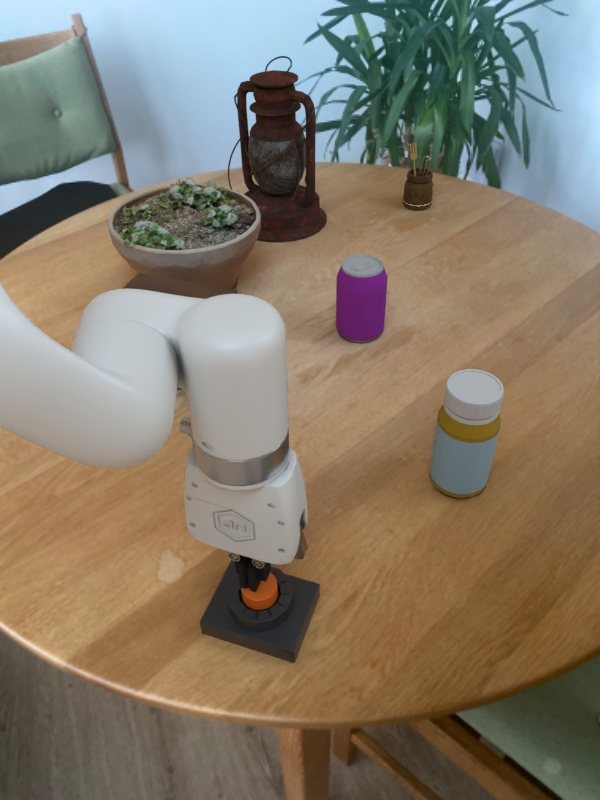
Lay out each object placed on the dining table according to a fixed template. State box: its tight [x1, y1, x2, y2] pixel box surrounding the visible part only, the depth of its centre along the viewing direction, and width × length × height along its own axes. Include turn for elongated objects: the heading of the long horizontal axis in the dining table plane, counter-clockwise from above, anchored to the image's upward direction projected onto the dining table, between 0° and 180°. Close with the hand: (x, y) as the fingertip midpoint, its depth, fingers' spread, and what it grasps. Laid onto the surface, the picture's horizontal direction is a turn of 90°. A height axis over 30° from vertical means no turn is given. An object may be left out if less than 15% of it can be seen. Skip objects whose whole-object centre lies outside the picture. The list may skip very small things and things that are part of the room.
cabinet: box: [121, 273, 239, 391], centre depth 98 cm, size 10×16×12 cm, turn 71°
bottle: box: [428, 368, 505, 499], centre depth 78 cm, size 7×7×15 cm
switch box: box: [199, 559, 321, 664], centre depth 69 cm, size 10×8×4 cm
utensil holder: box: [402, 141, 434, 211], centre depth 138 cm, size 6×6×12 cm
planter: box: [107, 177, 261, 290], centre depth 115 cm, size 26×25×15 cm
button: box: [241, 572, 278, 610], centre depth 67 cm, size 4×4×2 cm
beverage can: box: [335, 253, 389, 343], centre depth 104 cm, size 8×8×12 cm
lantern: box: [227, 55, 328, 243], centre depth 128 cm, size 19×19×30 cm
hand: (254, 577), depth 66 cm, fingers closed
